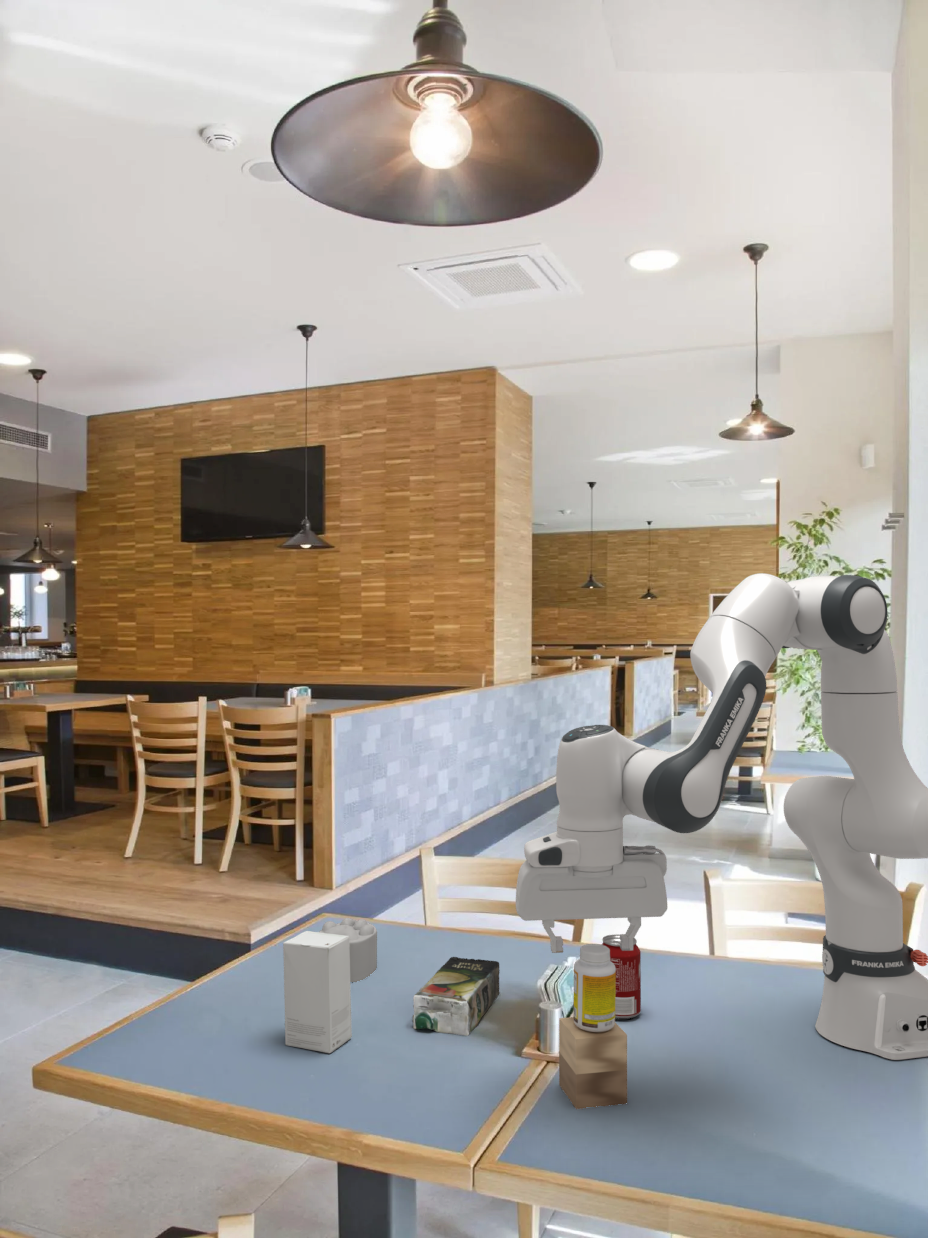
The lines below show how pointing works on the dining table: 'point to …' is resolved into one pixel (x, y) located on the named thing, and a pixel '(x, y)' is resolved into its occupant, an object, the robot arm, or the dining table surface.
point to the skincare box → (317, 991)
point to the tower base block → (593, 1086)
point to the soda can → (625, 977)
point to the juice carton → (457, 996)
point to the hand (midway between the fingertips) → (591, 950)
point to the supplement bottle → (594, 989)
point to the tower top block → (592, 1048)
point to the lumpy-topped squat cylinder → (357, 945)
